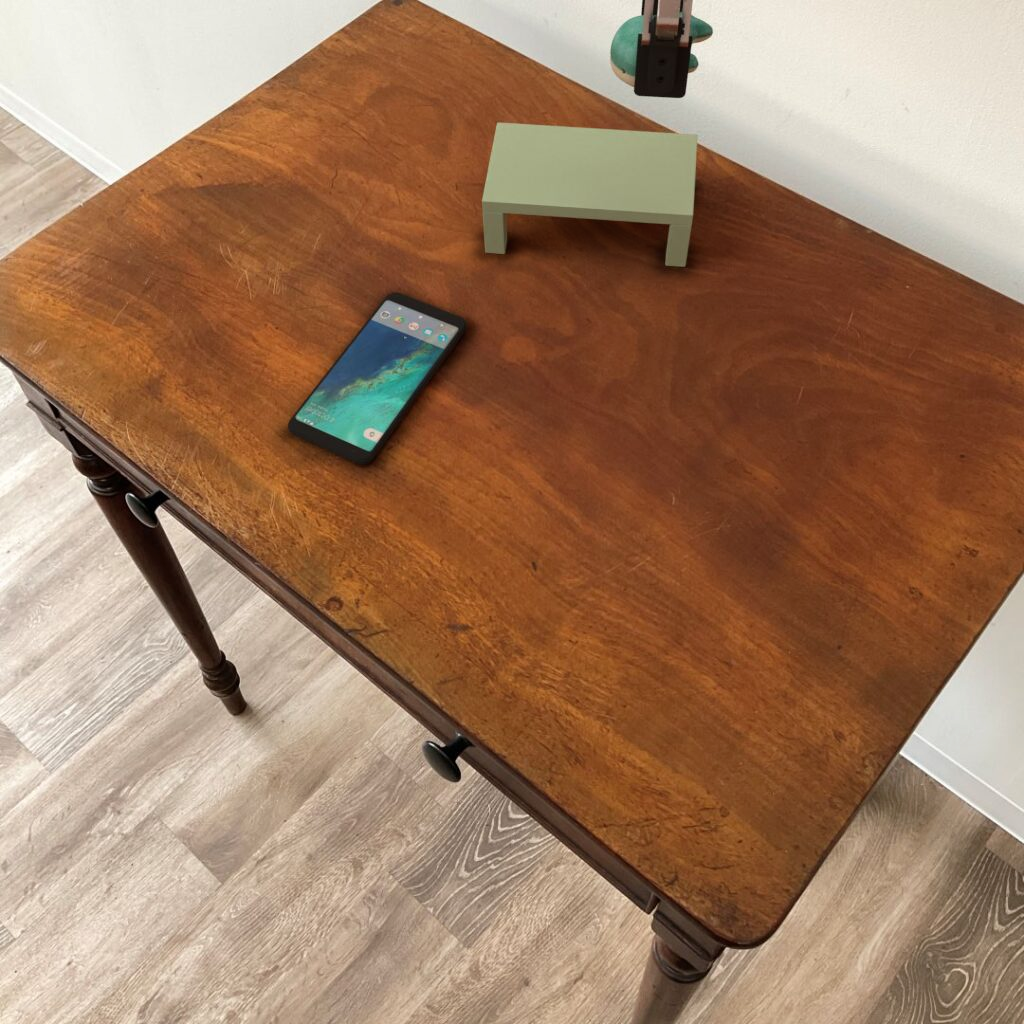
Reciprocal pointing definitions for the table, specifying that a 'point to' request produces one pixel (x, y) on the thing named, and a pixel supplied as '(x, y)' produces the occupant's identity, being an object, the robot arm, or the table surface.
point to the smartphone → (377, 378)
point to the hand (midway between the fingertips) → (662, 53)
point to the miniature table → (591, 179)
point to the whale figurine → (626, 46)
